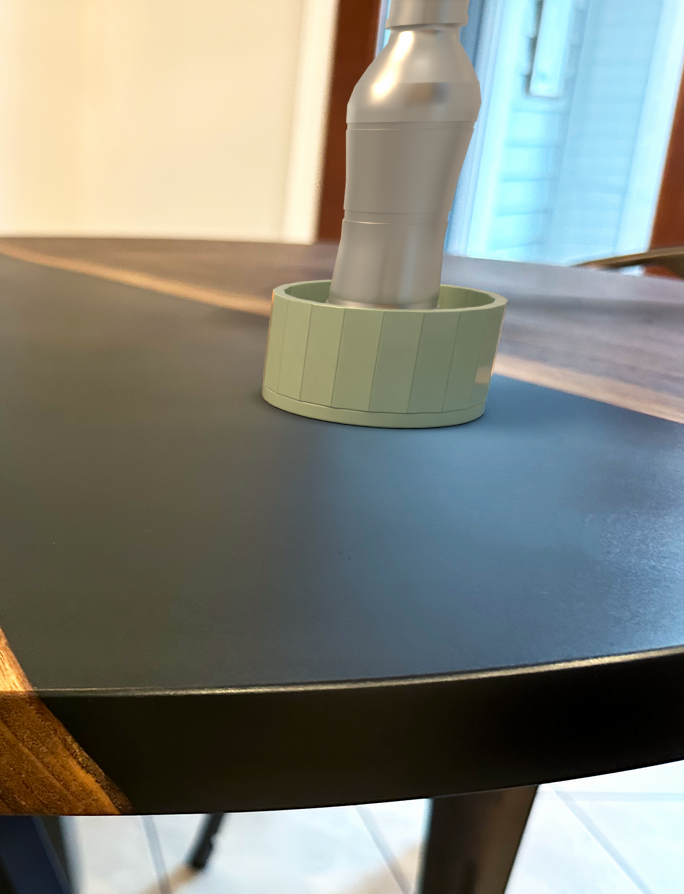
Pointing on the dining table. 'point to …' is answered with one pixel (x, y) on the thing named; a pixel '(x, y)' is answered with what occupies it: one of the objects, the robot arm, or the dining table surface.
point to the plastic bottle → (405, 158)
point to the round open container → (382, 357)
